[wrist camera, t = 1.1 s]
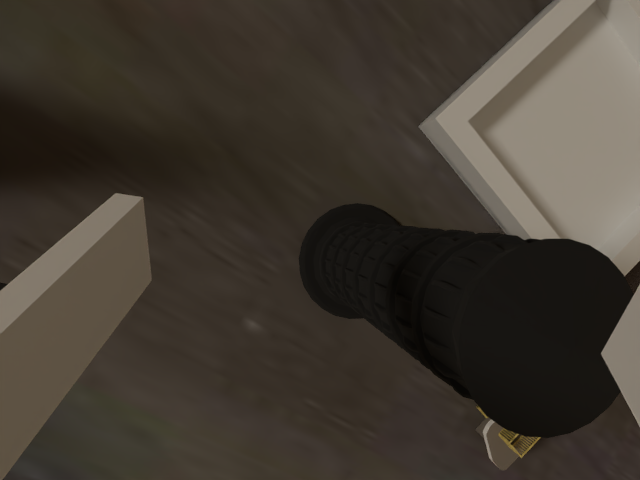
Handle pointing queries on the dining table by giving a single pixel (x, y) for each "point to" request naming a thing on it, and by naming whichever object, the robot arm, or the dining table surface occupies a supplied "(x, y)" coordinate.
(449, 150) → the tray
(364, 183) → the dining table surface
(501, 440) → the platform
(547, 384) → the ribbed tower figurine
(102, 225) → the robot arm
